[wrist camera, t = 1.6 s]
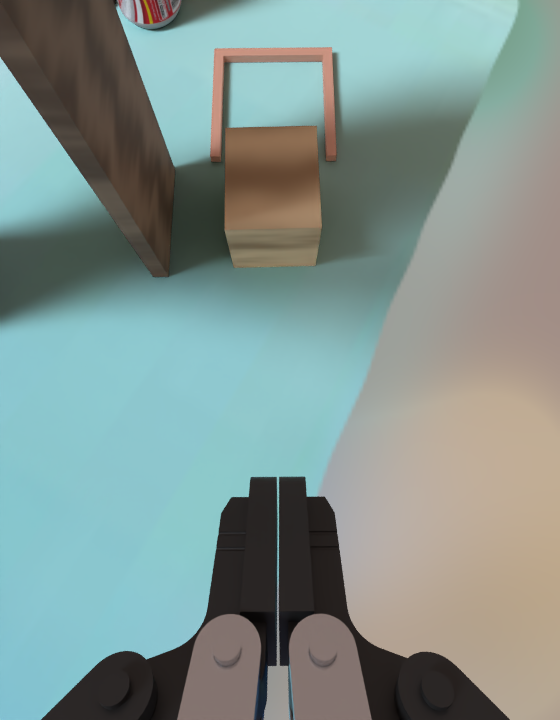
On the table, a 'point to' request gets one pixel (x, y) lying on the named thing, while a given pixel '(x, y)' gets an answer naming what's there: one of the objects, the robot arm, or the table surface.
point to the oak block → (272, 196)
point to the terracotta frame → (272, 56)
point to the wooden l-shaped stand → (96, 111)
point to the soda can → (150, 12)
